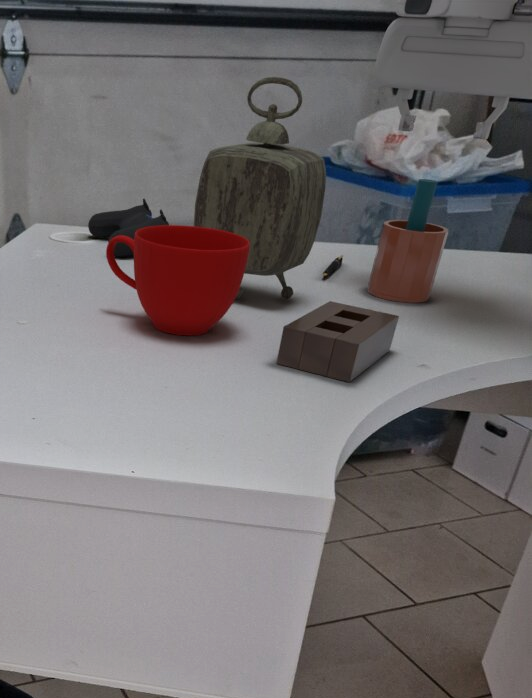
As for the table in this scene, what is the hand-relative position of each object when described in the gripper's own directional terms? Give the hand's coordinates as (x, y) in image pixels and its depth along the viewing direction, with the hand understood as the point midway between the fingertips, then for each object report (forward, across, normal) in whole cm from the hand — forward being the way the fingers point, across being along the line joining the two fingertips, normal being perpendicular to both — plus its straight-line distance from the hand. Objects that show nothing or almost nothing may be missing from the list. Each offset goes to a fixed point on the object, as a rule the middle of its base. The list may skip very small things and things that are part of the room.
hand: (441, 135), depth 106 cm
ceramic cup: (+20, +17, +37) cm, 45 cm away
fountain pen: (+20, +12, -6) cm, 24 cm away
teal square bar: (+19, 0, 0) cm, 19 cm away
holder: (+20, -3, +34) cm, 39 cm away
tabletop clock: (+20, +16, +18) cm, 31 cm away
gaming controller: (+20, +42, +5) cm, 47 cm away
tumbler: (+20, 0, 0) cm, 20 cm away
